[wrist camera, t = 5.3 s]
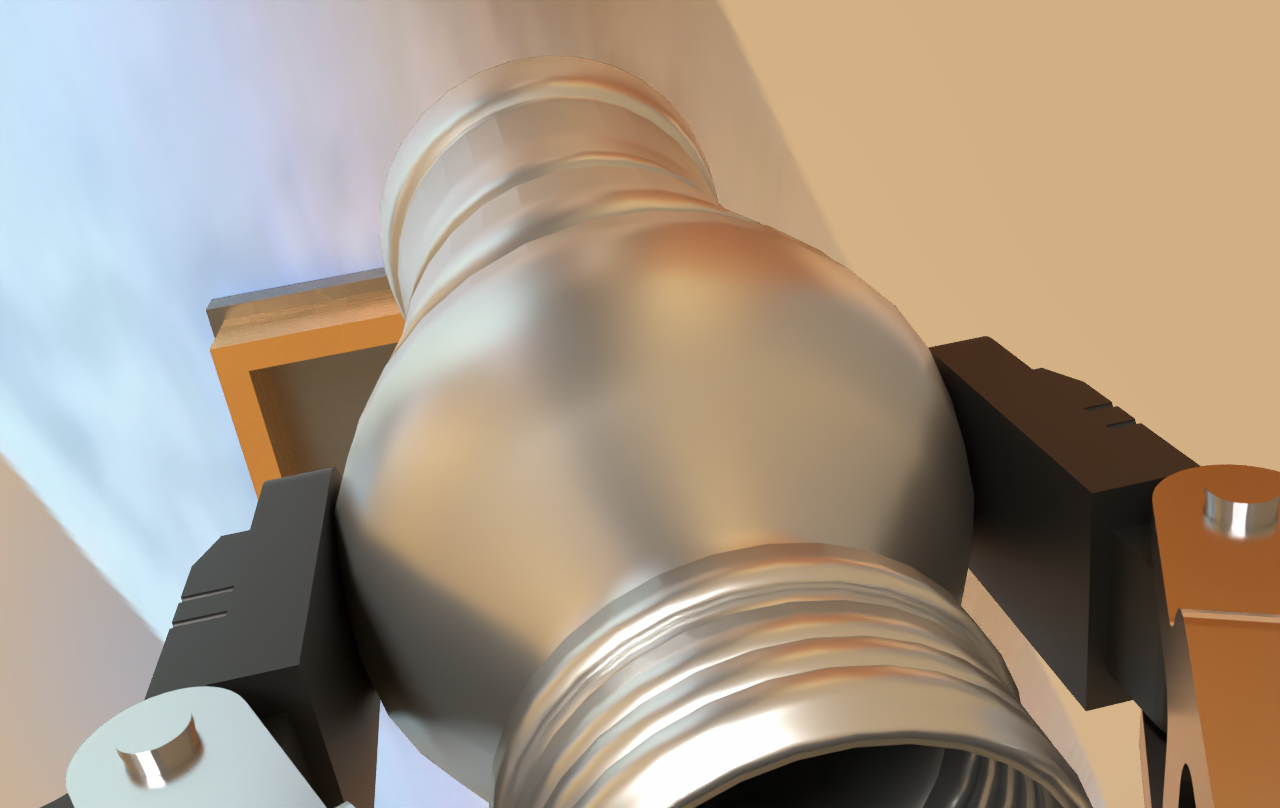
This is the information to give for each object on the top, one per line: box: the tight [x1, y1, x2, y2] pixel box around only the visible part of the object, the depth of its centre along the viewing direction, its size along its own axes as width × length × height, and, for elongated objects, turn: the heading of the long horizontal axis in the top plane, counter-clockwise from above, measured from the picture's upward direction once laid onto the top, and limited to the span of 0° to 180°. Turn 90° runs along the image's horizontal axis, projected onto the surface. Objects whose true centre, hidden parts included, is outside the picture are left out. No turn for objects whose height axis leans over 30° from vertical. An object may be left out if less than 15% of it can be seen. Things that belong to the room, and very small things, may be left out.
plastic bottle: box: [334, 56, 1093, 808], centre depth 16 cm, size 6×7×20 cm
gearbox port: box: [206, 268, 405, 500], centre depth 43 cm, size 15×15×4 cm
